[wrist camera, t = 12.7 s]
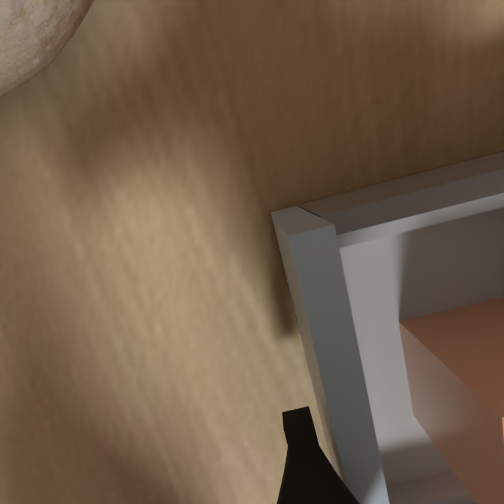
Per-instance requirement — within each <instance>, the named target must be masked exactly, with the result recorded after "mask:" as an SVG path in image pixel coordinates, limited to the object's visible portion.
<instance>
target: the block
mask: <svg viewBox="0 0 504 504" xmlns="http://www.w3.org/2000/svg"><path fill="white" fill-rule="evenodd" d="M399 328H400V334H401V340H402V347H403V353H404V359H405V365H406V372H407V378H408V384H409V391H410V397H411V403H412V410H413V415H414V416H415V418H416V419H417V421H418V422H419V423H420V425H421V426H422V428H423V429H424V431H425V432H426V433H427V435H428V436H429V438H430V439H431V440H432V442H433V443H434V445H435V446H436V448H437V449H438V450H439V452H440V453H441V455H442V456H443V457H444V459H445V460H446V462H447V463H448V465H449V466H450V467H451V469H452V470H453V472H454V473H455V474H456V476H457V477H458V479H459V480H460V482H461V483H462V484H463V486H464V487H465V489H466V490H467V491H468V493H469V494H470V496H471V497H472V499H473V500H474V501H475V503H476V504H504V297H501V298H496V299H492V300H488V301H484V302H479V303H475V304H471V305H467V306H462V307H458V308H454V309H450V310H445V311H441V312H437V313H433V314H428V315H424V316H420V317H416V318H411V319H407V320H403V321H399Z"/></svg>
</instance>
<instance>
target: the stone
mask: <svg viewBox="0 0 504 504" xmlns="http://www.w3.org/2000/svg"><path fill="white" fill-rule="evenodd" d="M93 1H94V0H0V96H2V95H3V94H5V93H7V92H8V91H10V90H12V89H13V88H15V87H17V86H18V85H20V84H22V83H24V82H26V81H27V80H29V79H30V78H31V77H33V76H34V75H36V74H37V73H38V72H39V71H41V70H42V69H43V68H44V67H46V66H47V65H48V64H50V63H51V62H52V61H53V59H54V58H55V57H56V56H57V55H58V54H59V52H60V51H61V50H62V49H63V48H64V46H65V45H66V43H67V42H68V41H69V39H70V38H71V37H72V36H73V34H74V33H75V31H76V30H77V28H78V26H79V25H80V23H81V21H82V20H83V18H84V16H85V15H86V13H87V12H88V10H89V8H90V6H91V5H92V3H93Z"/></svg>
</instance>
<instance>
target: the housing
mask: <svg viewBox="0 0 504 504" xmlns="http://www.w3.org/2000/svg"><path fill="white" fill-rule="evenodd" d="M501 193H504V151H502V152H498V153H494V154H490V155H486V156H483V157H479V158H475V159H471V160H467V161H463V162H460V163H456V164H452V165H448V166H444V167H440V168H437V169H433V170H429V171H425V172H421V173H417V174H413V175H410V176H406V177H402V178H398V179H394V180H390V181H387V182H383V183H379V184H375V185H371V186H367V187H364V188H360V189H356V190H352V191H348V192H344V193H340V194H337V195H333V196H329V197H325V198H321V199H317V200H314V201H310V202H306V203H302V204H298V205H297V206H298V207H300V208H302V209H304V210H306V211H308V212H310V213H312V214H314V215H316V216H318V217H320V218H322V219H324V220H326V221H328V222H330V223H332V224H334V225H335V230H336V235H340V234H344V233H348V232H352V231H356V230H359V229H363V228H367V227H371V226H375V225H379V224H383V223H387V222H391V221H395V220H399V219H403V218H407V217H411V216H415V215H419V214H423V213H427V212H430V211H434V210H438V209H442V208H446V207H450V206H454V205H458V204H462V203H466V202H470V201H474V200H478V199H482V198H486V197H490V196H494V195H498V194H501ZM474 504H476V503H474Z"/></svg>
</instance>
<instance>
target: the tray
mask: <svg viewBox="0 0 504 504" xmlns="http://www.w3.org/2000/svg"><path fill="white" fill-rule="evenodd" d="M271 216H272V220H273V224H274V228H275V232H276V237H277V241H278V245H279V249H280V253H281V257H282V261H283V265H284V269H285V273H286V278H287V282H288V286H289V290H290V294H291V298H292V302H293V306H294V310H295V314H296V319H297V323H298V327H299V331H300V335H301V339H302V343H303V347H304V351H305V355H306V360H307V364H308V368H309V372H310V376H311V380H312V384H313V388H314V392H315V396H316V400H317V405H318V409H319V413H320V417H321V421H322V425H323V429H324V433H325V437H326V441H327V446H328V450H329V454H330V458H331V462H332V466H333V468H334V470H335V471H336V472H337V474H338V475H339V477H340V478H341V479H342V481H343V482H344V484H345V485H346V486H347V488H348V489H349V490H350V492H351V493H352V494H353V496H354V497H355V498H356V500H357V501H358V502H359V503H360V504H474V503H475V501H474V500H473V499H472V497H471V496H470V494H469V493H468V491H467V490H466V489H465V487H464V486H463V484H462V483H461V482H460V480H459V479H458V477H457V476H456V474H455V473H454V472H453V470H452V469H451V467H450V466H449V465H448V463H447V462H446V460H445V459H444V457H443V456H442V455H441V453H440V452H439V450H438V449H437V448H436V446H435V445H434V443H433V442H432V440H431V439H430V438H429V436H428V435H427V433H426V432H425V431H424V429H423V428H422V426H421V425H420V423H419V422H418V421H417V419H416V418H415V416H414V415H413V410H412V403H411V397H410V391H409V384H408V378H407V372H406V365H405V359H404V353H403V347H402V340H401V334H400V328H399V321H403V320H407V319H411V318H416V317H420V316H424V315H428V314H433V313H437V312H441V311H445V310H450V309H454V308H458V307H462V306H467V305H471V304H475V303H479V302H484V301H488V300H492V299H496V298H501V297H504V193H501V194H498V195H494V196H490V197H486V198H482V199H478V200H474V201H470V202H466V203H462V204H458V205H454V206H450V207H446V208H442V209H438V210H434V211H430V212H427V213H423V214H419V215H415V216H411V217H407V218H403V219H399V220H395V221H391V222H387V223H383V224H379V225H375V226H371V227H367V228H363V229H359V230H356V231H352V232H348V233H344V234H340V235H336V230H335V225H334V224H332V223H330V222H328V221H326V220H324V219H322V218H320V217H318V216H316V215H314V214H312V213H310V212H308V211H306V210H304V209H302V208H300V207H298V206H293V207H289V208H285V209H281V210H277V211H274V212H271Z"/></svg>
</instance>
